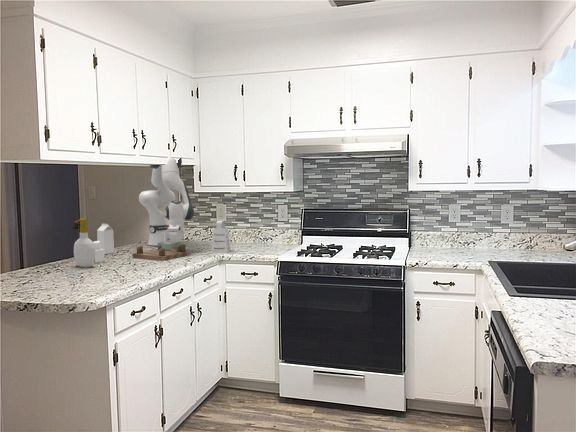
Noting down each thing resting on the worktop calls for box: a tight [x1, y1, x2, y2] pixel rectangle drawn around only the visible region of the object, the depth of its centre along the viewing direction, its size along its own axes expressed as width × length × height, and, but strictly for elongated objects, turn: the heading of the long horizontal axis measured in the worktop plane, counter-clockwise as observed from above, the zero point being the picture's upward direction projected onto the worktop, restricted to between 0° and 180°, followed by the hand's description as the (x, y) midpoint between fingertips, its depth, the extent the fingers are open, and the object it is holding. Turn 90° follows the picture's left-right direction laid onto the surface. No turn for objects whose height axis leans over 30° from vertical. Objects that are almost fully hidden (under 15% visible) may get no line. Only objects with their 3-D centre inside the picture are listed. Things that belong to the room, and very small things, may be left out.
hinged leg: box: [157, 242, 181, 251], centre depth 302 cm, size 17×4×4 cm, turn 59°
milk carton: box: [96, 223, 115, 255], centre depth 305 cm, size 7×7×19 cm
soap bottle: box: [73, 218, 95, 268], centre depth 260 cm, size 14×9×26 cm, turn 59°
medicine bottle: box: [91, 240, 106, 264], centre depth 275 cm, size 7×7×12 cm
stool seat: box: [131, 244, 191, 262], centre depth 293 cm, size 24×24×6 cm
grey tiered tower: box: [210, 220, 232, 254], centre depth 311 cm, size 10×10×20 cm
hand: (177, 248), depth 303 cm, fingers closed
